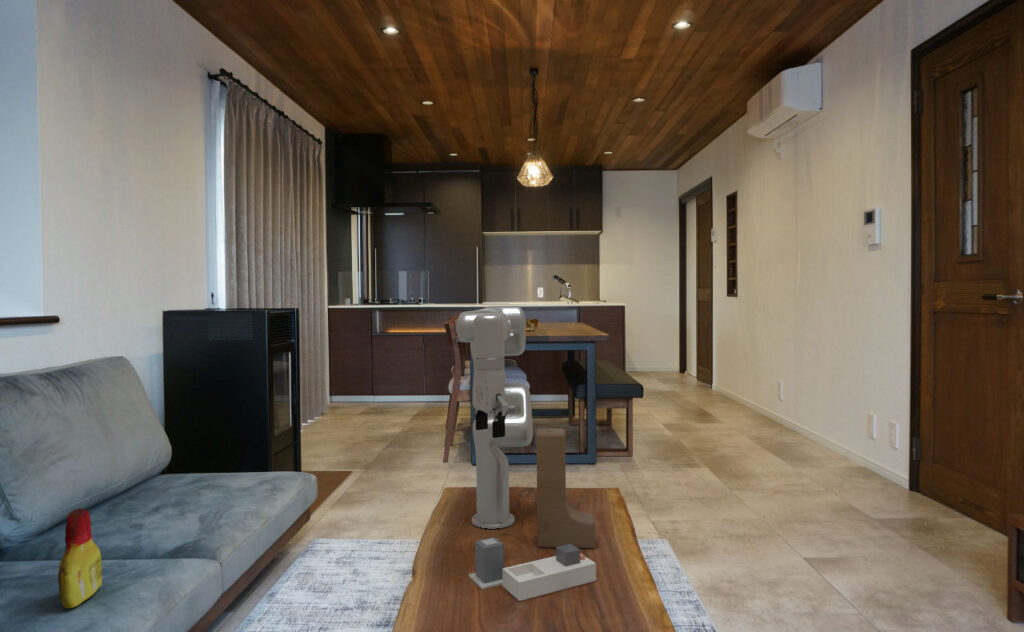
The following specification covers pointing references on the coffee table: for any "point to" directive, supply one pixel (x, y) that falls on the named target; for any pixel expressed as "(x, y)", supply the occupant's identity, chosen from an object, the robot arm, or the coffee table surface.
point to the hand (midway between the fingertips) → (490, 433)
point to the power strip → (549, 574)
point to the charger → (489, 559)
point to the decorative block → (558, 497)
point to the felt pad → (486, 585)
